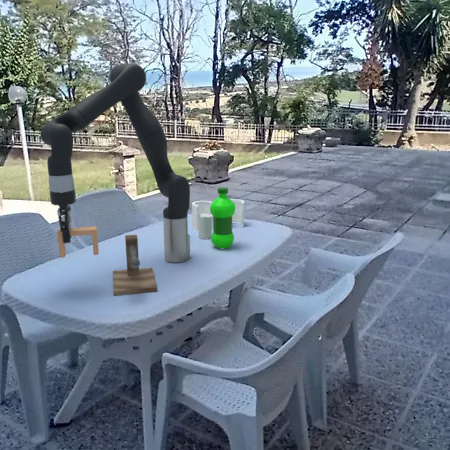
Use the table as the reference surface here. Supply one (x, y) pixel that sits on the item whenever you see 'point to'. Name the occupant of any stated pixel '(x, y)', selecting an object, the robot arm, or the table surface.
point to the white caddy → (204, 208)
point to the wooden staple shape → (78, 232)
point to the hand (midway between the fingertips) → (67, 240)
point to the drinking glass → (205, 225)
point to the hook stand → (133, 272)
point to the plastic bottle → (222, 219)
